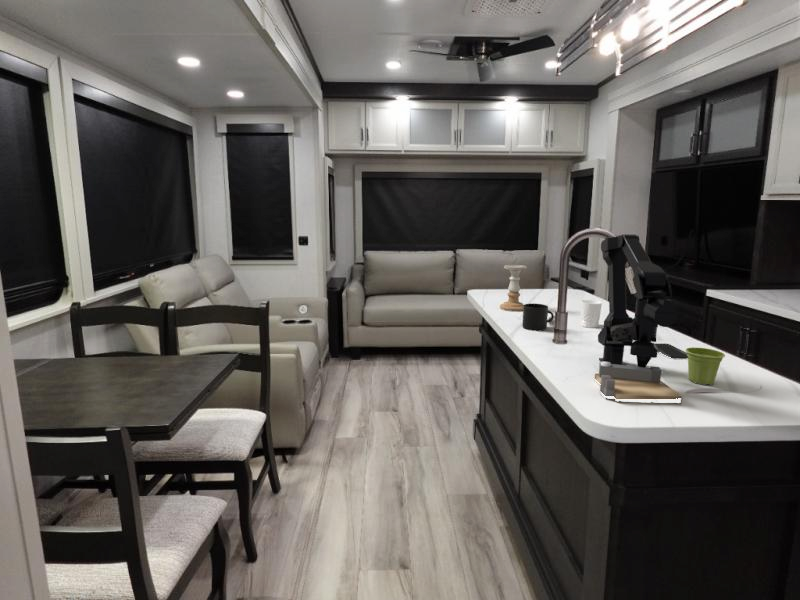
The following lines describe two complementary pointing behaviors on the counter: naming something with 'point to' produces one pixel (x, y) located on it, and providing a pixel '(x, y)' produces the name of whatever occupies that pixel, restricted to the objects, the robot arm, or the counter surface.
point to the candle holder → (513, 289)
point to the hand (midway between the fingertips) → (640, 371)
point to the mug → (536, 316)
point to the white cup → (590, 313)
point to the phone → (671, 351)
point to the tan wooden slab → (635, 389)
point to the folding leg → (630, 372)
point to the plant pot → (703, 364)
